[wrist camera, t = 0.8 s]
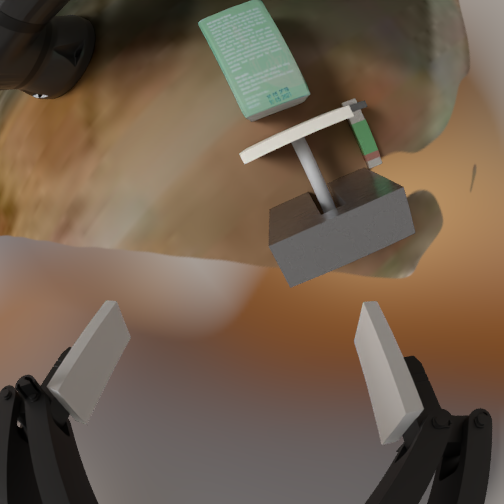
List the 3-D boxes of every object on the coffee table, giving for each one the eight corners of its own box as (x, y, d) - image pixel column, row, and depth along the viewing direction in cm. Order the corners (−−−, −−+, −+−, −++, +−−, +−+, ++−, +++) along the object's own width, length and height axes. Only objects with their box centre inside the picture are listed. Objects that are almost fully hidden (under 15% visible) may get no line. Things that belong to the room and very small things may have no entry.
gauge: (238, 149, 33) (221, 158, 22) (353, 98, 29) (391, 87, 18) (285, 240, 38) (290, 287, 27) (391, 194, 34) (434, 223, 23)
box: (261, 17, 25) (258, -7, 18) (305, 102, 30) (313, 95, 23) (209, 38, 27) (193, 19, 20) (251, 122, 32) (245, 121, 25)
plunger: (246, 148, 33) (239, 153, 25) (355, 101, 29) (377, 95, 22) (290, 235, 37) (295, 262, 30) (390, 191, 33) (417, 208, 26)
